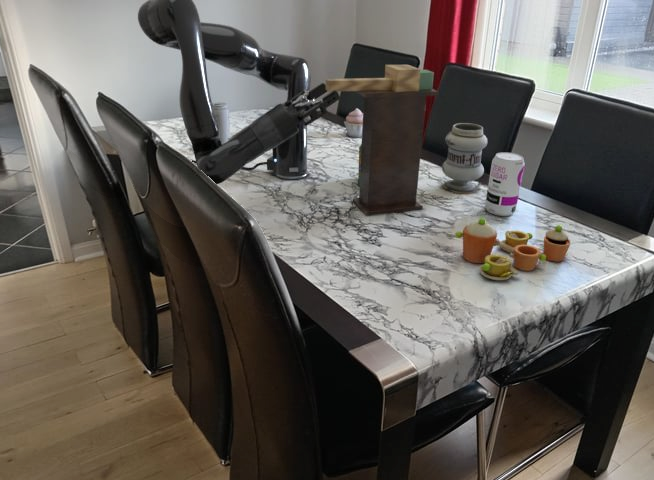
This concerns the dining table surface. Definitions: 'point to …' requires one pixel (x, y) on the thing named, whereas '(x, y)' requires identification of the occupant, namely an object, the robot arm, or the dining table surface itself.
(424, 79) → the block
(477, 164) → the apothecary jar
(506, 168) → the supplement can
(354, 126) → the cupcake
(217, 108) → the energy drink can
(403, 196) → the stand
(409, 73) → the mallet
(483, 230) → the toy tea set
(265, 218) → the dining table surface
